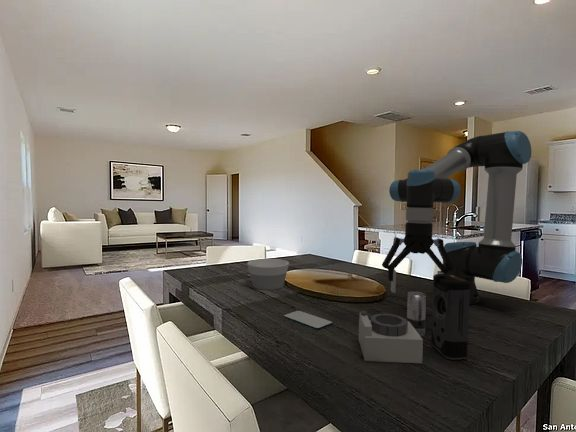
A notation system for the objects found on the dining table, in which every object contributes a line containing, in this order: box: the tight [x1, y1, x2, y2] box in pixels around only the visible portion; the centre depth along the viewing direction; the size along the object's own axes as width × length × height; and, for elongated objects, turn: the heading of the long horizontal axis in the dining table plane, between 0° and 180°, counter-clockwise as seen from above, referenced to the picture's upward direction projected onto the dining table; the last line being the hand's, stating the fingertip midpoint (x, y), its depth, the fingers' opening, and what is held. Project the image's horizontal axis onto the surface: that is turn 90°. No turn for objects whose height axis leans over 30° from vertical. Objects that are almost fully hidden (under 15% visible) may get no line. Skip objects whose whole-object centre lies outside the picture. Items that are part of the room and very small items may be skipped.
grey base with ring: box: [358, 310, 424, 364], centre depth 89 cm, size 14×12×9 cm
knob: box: [406, 290, 427, 337], centre depth 100 cm, size 5×5×12 cm
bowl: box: [246, 258, 290, 291], centre depth 152 cm, size 19×19×11 cm
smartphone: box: [283, 310, 333, 331], centre depth 111 cm, size 8×1×16 cm
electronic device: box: [430, 274, 470, 361], centre depth 88 cm, size 9×6×20 cm, turn 5°
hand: (416, 292), depth 100 cm, fingers open, 13 cm apart
